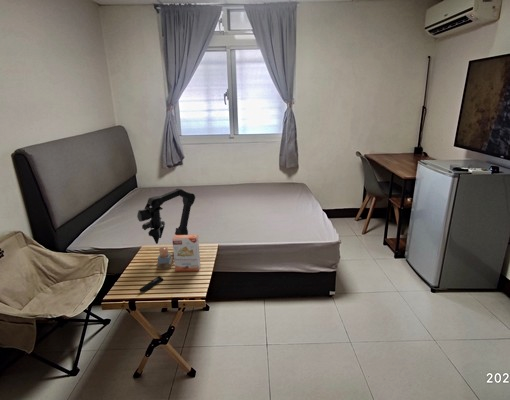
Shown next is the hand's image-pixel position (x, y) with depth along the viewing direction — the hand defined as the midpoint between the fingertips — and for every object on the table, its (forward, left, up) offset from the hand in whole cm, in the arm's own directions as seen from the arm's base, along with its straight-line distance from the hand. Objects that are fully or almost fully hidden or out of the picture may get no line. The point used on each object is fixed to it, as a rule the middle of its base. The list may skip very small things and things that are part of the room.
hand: (158, 240), depth 199 cm
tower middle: (-6, +12, -9) cm, 16 cm away
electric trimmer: (-4, +35, -12) cm, 37 cm away
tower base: (-6, +12, -12) cm, 18 cm away
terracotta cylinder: (-6, +12, -5) cm, 14 cm away
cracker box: (-21, +17, -12) cm, 30 cm away
